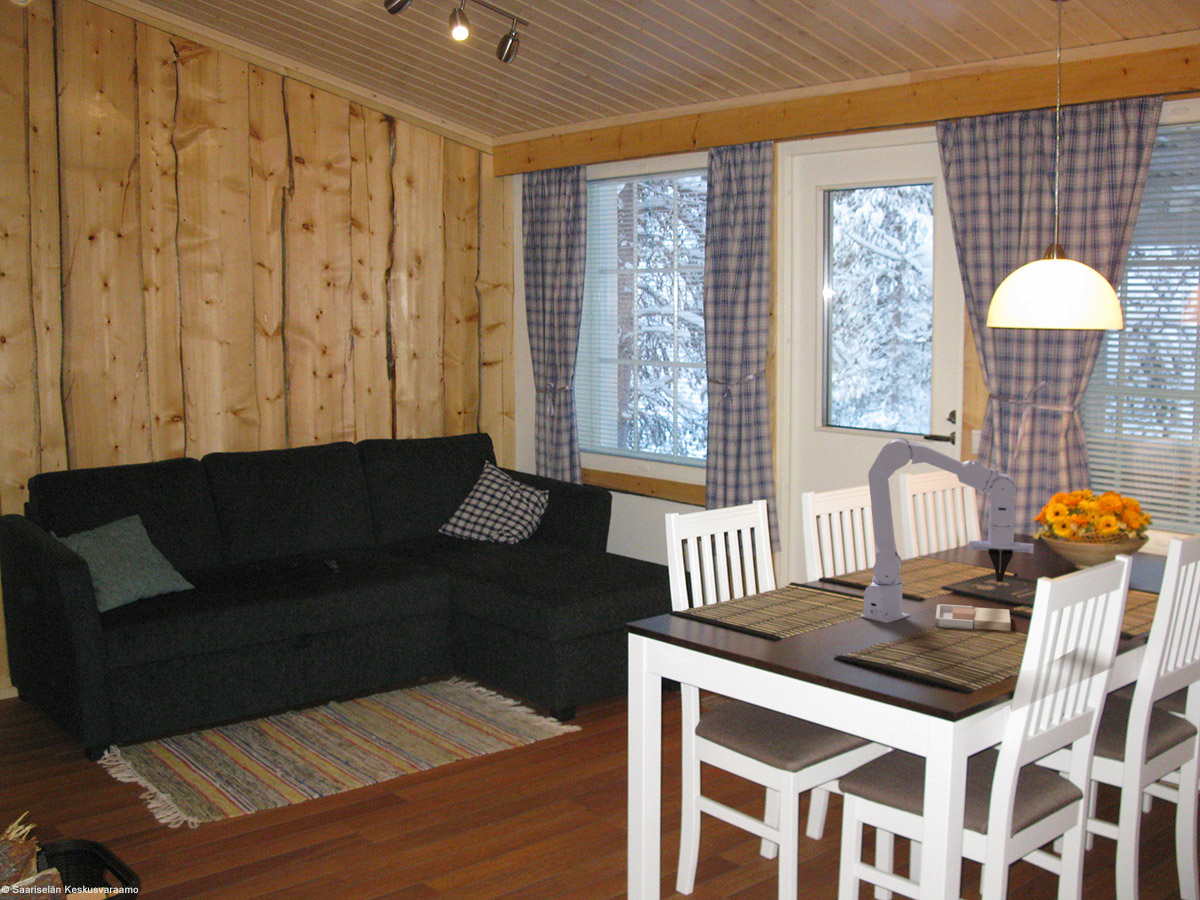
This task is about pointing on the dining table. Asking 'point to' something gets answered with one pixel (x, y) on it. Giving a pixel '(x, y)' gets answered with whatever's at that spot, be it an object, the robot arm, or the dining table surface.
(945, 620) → the tray
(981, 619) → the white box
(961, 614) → the tile
